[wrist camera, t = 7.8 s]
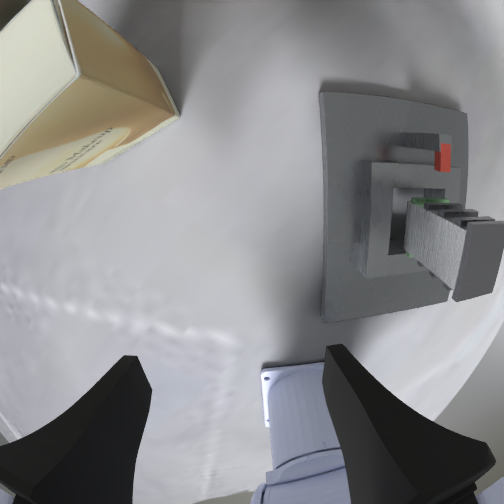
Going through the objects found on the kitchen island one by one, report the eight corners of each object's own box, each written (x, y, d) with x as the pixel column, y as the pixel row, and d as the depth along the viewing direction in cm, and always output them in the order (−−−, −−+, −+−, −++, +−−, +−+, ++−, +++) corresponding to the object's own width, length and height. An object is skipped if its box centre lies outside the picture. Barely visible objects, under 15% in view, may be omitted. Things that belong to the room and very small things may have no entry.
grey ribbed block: (437, 250, 16) (492, 292, 10) (402, 254, 16) (456, 302, 10) (443, 195, 15) (508, 223, 9) (408, 194, 15) (473, 224, 9)
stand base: (441, 295, 21) (471, 326, 17) (320, 315, 21) (337, 358, 17) (459, 113, 15) (502, 114, 11) (318, 94, 15) (345, 78, 11)
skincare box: (105, 165, 16) (-39, 213, 5) (82, 114, 15) (-62, 116, 4) (187, 115, 16) (82, 74, 4) (160, 62, 14) (50, -23, 3)
